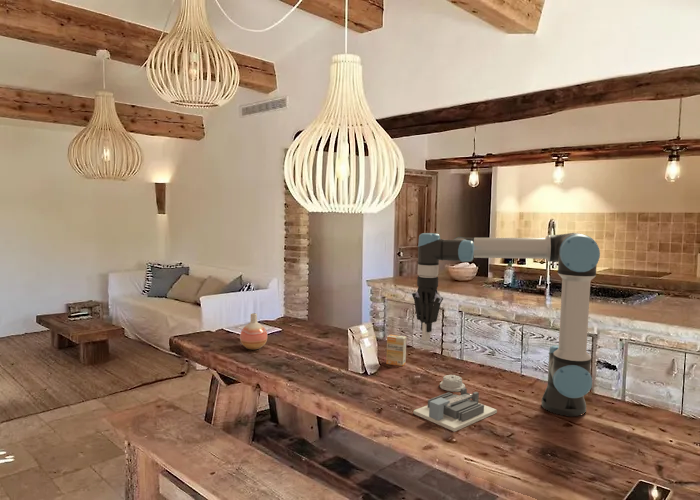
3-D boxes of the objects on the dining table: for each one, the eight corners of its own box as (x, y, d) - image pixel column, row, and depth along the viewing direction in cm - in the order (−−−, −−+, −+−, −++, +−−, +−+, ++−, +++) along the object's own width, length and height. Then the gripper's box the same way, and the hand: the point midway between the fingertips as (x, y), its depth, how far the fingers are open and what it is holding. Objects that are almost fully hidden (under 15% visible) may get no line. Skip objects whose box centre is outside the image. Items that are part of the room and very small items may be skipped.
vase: (273, 347, 258) (273, 313, 256) (254, 353, 246) (254, 318, 245) (253, 342, 265) (253, 309, 263) (234, 349, 254) (233, 314, 252)
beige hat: (439, 391, 201) (465, 393, 199) (440, 380, 201) (465, 382, 199) (439, 382, 211) (464, 384, 209) (440, 372, 211) (464, 374, 209)
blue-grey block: (449, 416, 174) (449, 400, 174) (438, 420, 170) (438, 404, 170) (440, 412, 177) (440, 397, 177) (429, 416, 173) (429, 401, 173)
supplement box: (385, 364, 233) (386, 336, 232) (389, 361, 238) (389, 334, 236) (403, 366, 230) (403, 338, 229) (406, 363, 235) (406, 336, 233)
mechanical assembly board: (496, 412, 181) (497, 395, 180) (454, 431, 165) (455, 412, 164) (456, 397, 194) (456, 381, 194) (413, 413, 179) (413, 396, 178)
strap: (476, 399, 183) (476, 395, 183) (446, 409, 172) (446, 405, 172) (464, 395, 187) (465, 391, 187) (435, 405, 176) (435, 401, 176)
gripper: (448, 277, 180) (446, 342, 182) (421, 273, 190) (419, 334, 192) (435, 279, 175) (432, 345, 177) (407, 274, 185) (405, 338, 187)
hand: (425, 340), depth 185 cm, fingers closed
